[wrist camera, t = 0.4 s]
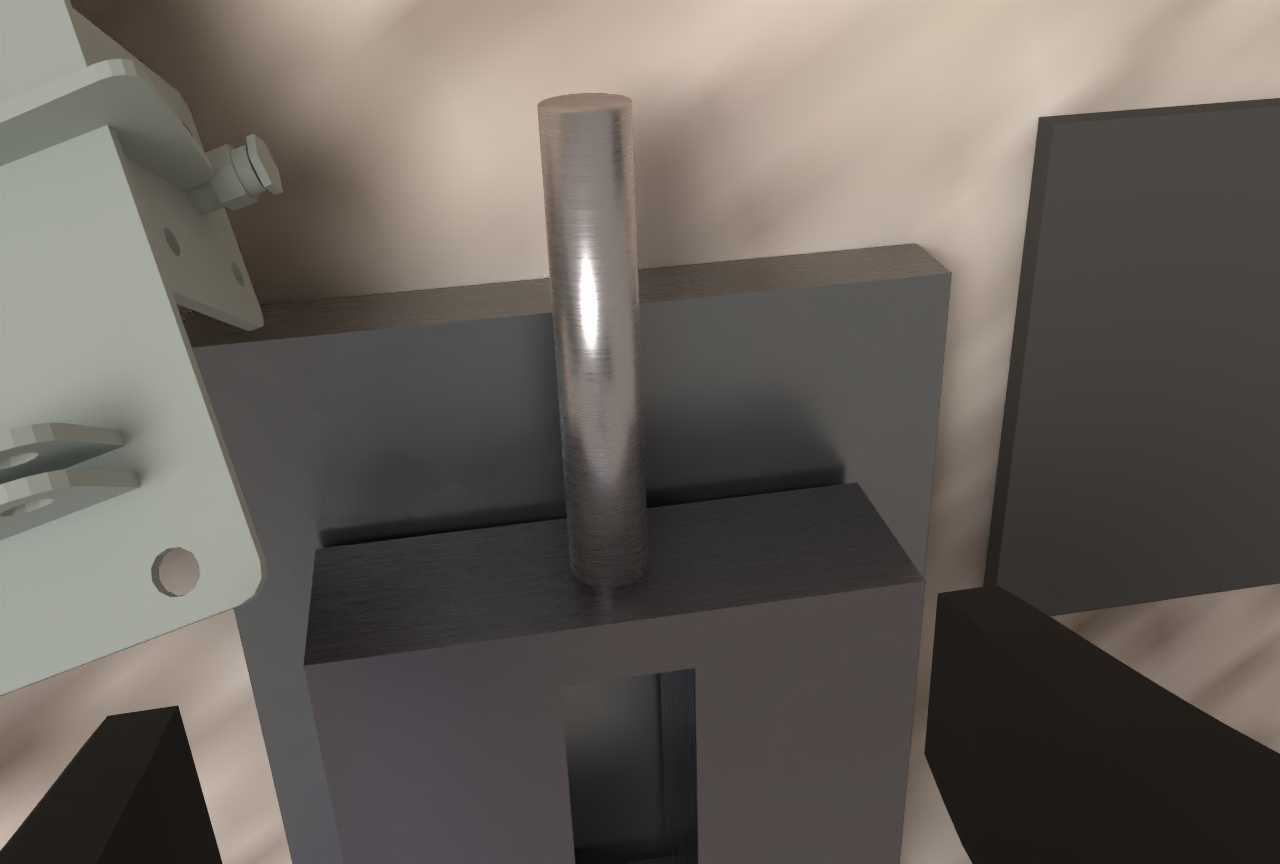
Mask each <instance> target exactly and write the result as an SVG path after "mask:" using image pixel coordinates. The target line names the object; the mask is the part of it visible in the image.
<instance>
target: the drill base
mask: <svg viewBox="0 0 1280 864" xmlns="http://www.w3.org/2000/svg"><path fill="white" fill-rule="evenodd" d="M638 280H639V308H640V336H641V364H642V392H643V420H644V448H645V476H646V504H647V508H653V507H662V506H670V505H678V504H686V503H694V502H702V501H710V500H718V499H726V498H735V497H743V496H751V495H759V494H767V493H775V492H783V491H791V490H799V489H808V488H816V487H824V486H832V485H840V484H848V483H856V482H857V483H858V484H859V486H860V487H861V488H862V490H863V491H864V493H865V494H866V496H867V497H868V499H869V500H870V501H871V503H872V504H873V506H874V507H875V509H876V510H877V512H878V513H879V514H880V516H881V517H882V519H883V520H884V522H885V523H886V525H887V526H888V528H889V529H890V530H891V532H892V533H893V535H894V536H895V538H896V539H897V541H898V542H899V543H900V545H901V546H902V548H903V549H904V551H905V552H906V554H907V555H908V556H909V558H910V559H911V561H912V562H913V564H914V565H915V567H916V568H917V569H918V571H919V572H920V574H921V575H922V577H923V578H924V570H925V559H926V548H927V537H928V526H929V515H930V504H931V493H932V482H933V471H934V460H935V449H936V438H937V427H938V416H939V405H940V394H941V383H942V372H943V361H944V350H945V339H946V328H947V317H948V306H949V295H950V284H951V272H950V271H948V270H947V269H946V268H945V267H944V266H942V265H941V264H940V263H939V262H938V261H936V260H935V259H934V258H933V257H932V256H930V255H929V254H928V253H927V252H925V251H924V250H923V249H922V248H921V247H919V246H918V245H917V244H907V245H897V246H886V247H875V248H865V249H854V250H844V251H833V252H822V253H812V254H801V255H791V256H780V257H769V258H759V259H748V260H738V261H727V262H716V263H706V264H695V265H684V266H674V267H663V268H653V269H642V270H638ZM260 309H261V312H262V315H263V320H264V325H263V326H262V327H260V328H257V329H255V330H252V331H247V330H244V329H241V328H239V327H236V326H233V325H231V324H228V323H226V322H223V321H220V320H218V319H215V318H212V317H210V316H207V315H204V314H202V313H199V312H197V311H196V312H189V314H188V316H187V319H186V321H185V324H184V327H185V330H186V333H187V336H188V339H189V342H190V345H191V347H192V350H193V353H194V356H195V359H196V362H197V365H198V367H199V370H200V373H201V376H202V379H203V382H204V384H205V387H206V390H207V393H208V396H209V399H210V402H211V404H212V407H213V410H214V413H215V416H216V419H217V422H218V424H219V427H220V430H221V433H222V436H223V439H224V442H225V444H226V447H227V450H228V453H229V456H230V459H231V462H232V464H233V467H234V470H235V473H236V476H237V479H238V482H239V484H240V487H241V490H242V493H243V496H244V499H245V502H246V504H247V507H248V510H249V513H250V516H251V519H252V522H253V524H254V527H255V530H256V533H257V536H258V539H259V542H260V544H261V547H262V550H263V553H264V556H265V559H266V566H267V580H266V582H265V584H264V586H263V588H262V590H261V593H260V594H259V595H257V596H256V597H254V598H253V599H252V600H250V601H249V602H247V603H246V604H243V605H241V606H238V607H235V608H234V612H235V616H236V620H237V625H238V629H239V633H240V638H241V642H242V646H243V651H244V655H245V659H246V664H247V668H248V672H249V677H250V681H251V685H252V690H253V694H254V698H255V703H256V707H257V711H258V716H259V720H260V724H261V729H262V733H263V737H264V742H265V746H266V750H267V755H268V759H269V763H270V768H271V772H272V776H273V781H274V785H275V789H276V794H277V798H278V802H279V807H280V811H281V815H282V820H283V824H284V828H285V833H286V837H287V841H288V846H289V850H290V854H291V859H292V863H293V864H344V863H343V858H342V853H341V848H340V843H339V838H338V833H337V828H336V823H335V818H334V814H333V809H332V804H331V799H330V794H329V789H328V784H327V779H326V774H325V769H324V764H323V760H322V755H321V750H320V745H319V740H318V735H317V730H316V725H315V720H314V715H313V710H312V705H311V701H310V696H309V691H308V686H307V681H306V676H305V671H304V656H305V646H306V637H307V627H308V617H309V608H310V598H311V589H312V579H313V569H314V560H315V550H316V549H321V548H329V547H337V546H345V545H353V544H361V543H369V542H377V541H386V540H394V539H402V538H410V537H418V536H426V535H434V534H442V533H450V532H459V531H467V530H475V529H483V528H491V527H499V526H507V525H515V524H524V523H532V522H540V521H548V520H556V519H564V518H567V510H566V496H565V482H564V468H563V455H562V441H561V427H560V413H559V399H558V385H557V371H556V357H555V343H554V329H553V315H552V301H551V287H550V278H547V279H536V280H525V281H515V282H504V283H493V284H483V285H472V286H462V287H451V288H440V289H430V290H419V291H409V292H398V293H387V294H377V295H366V296H356V297H345V298H334V299H324V300H313V301H302V302H292V303H281V304H271V305H260ZM561 693H562V706H563V718H564V730H565V743H566V755H567V768H568V780H569V793H570V805H571V817H572V830H573V842H574V855H575V864H625V863H631V862H637V861H643V860H649V859H655V858H661V857H666V836H665V805H664V774H663V743H662V712H661V680H660V673H656V674H649V675H642V676H635V677H628V678H621V679H614V680H607V681H600V682H593V683H586V684H579V685H572V686H565V687H561Z"/></svg>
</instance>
